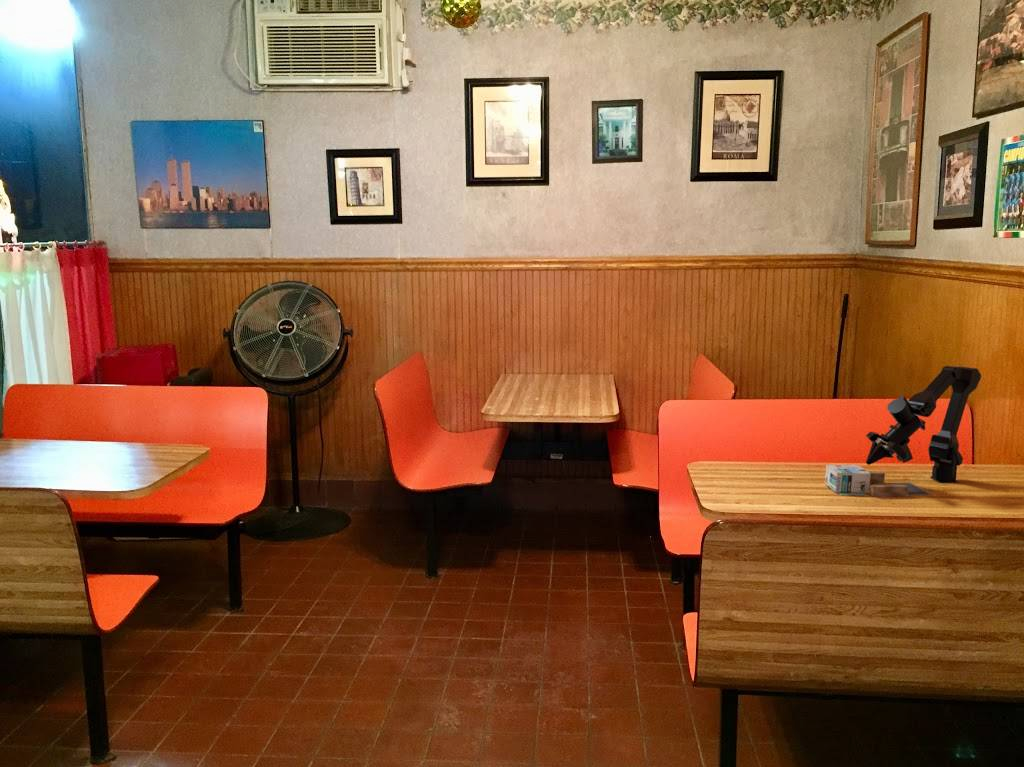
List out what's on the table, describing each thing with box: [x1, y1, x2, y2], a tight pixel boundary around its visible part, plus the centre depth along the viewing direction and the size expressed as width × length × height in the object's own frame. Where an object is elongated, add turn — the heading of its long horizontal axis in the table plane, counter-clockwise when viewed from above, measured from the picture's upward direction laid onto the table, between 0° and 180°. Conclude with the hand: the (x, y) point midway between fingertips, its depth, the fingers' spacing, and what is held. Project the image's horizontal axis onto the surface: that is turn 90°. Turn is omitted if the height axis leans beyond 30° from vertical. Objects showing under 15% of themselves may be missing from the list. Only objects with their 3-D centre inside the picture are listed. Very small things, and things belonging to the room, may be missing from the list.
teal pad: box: [836, 492, 867, 497], centre depth 275 cm, size 8×13×1 cm, turn 2°
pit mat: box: [887, 482, 933, 496], centre depth 275 cm, size 8×14×1 cm, turn 1°
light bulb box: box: [824, 464, 871, 494], centre depth 274 cm, size 11×7×11 cm
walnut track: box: [868, 471, 908, 498], centre depth 275 cm, size 11×18×4 cm, turn 2°
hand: (867, 463), depth 273 cm, fingers closed
